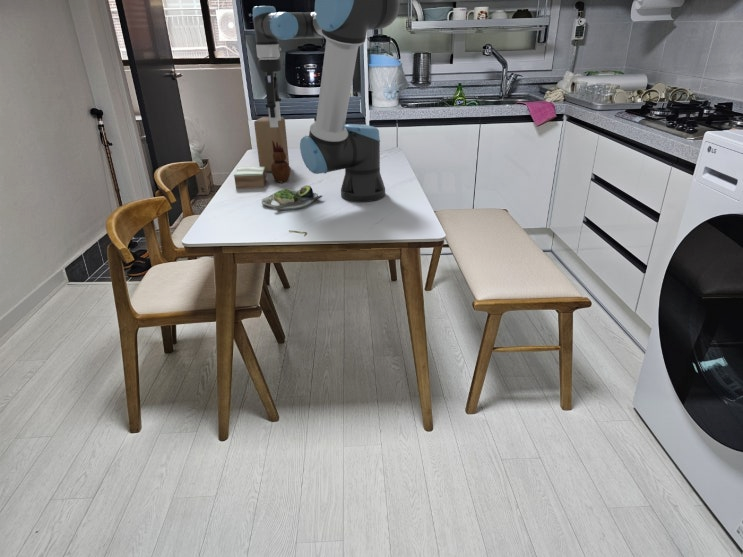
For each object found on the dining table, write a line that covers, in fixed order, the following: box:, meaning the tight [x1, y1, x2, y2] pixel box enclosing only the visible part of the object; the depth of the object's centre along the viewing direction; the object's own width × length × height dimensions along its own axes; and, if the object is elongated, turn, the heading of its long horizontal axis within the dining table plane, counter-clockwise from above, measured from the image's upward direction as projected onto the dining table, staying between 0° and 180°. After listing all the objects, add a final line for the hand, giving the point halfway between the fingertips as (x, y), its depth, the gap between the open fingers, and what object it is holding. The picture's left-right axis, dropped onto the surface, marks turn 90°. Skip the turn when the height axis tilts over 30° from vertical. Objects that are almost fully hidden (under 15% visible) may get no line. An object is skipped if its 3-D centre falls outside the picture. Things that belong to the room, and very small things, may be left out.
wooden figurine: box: [271, 141, 291, 183], centre depth 179 cm, size 7×6×15 cm
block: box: [253, 116, 290, 173], centre depth 194 cm, size 10×10×20 cm
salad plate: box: [261, 185, 323, 211], centre depth 158 cm, size 19×18×5 cm
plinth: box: [233, 166, 267, 189], centre depth 179 cm, size 10×10×5 cm
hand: (275, 123), depth 173 cm, fingers open, 13 cm apart
